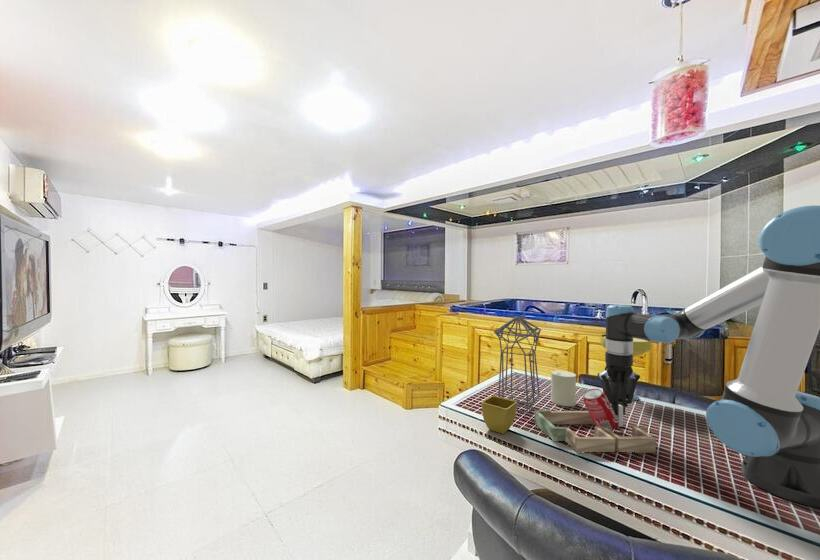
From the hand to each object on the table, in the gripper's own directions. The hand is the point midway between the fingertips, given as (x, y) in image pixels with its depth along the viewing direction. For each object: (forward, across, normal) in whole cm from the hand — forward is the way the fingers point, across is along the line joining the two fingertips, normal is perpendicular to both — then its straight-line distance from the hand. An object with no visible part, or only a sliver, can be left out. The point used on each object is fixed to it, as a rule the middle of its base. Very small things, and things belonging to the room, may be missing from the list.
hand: (617, 424), depth 103 cm
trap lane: (+2, +11, +4) cm, 11 cm away
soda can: (+1, +4, 0) cm, 4 cm away
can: (+3, +5, -24) cm, 25 cm away
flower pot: (+2, +39, -1) cm, 39 cm away
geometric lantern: (+2, +26, -19) cm, 33 cm away
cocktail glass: (+3, -24, -31) cm, 39 cm away
